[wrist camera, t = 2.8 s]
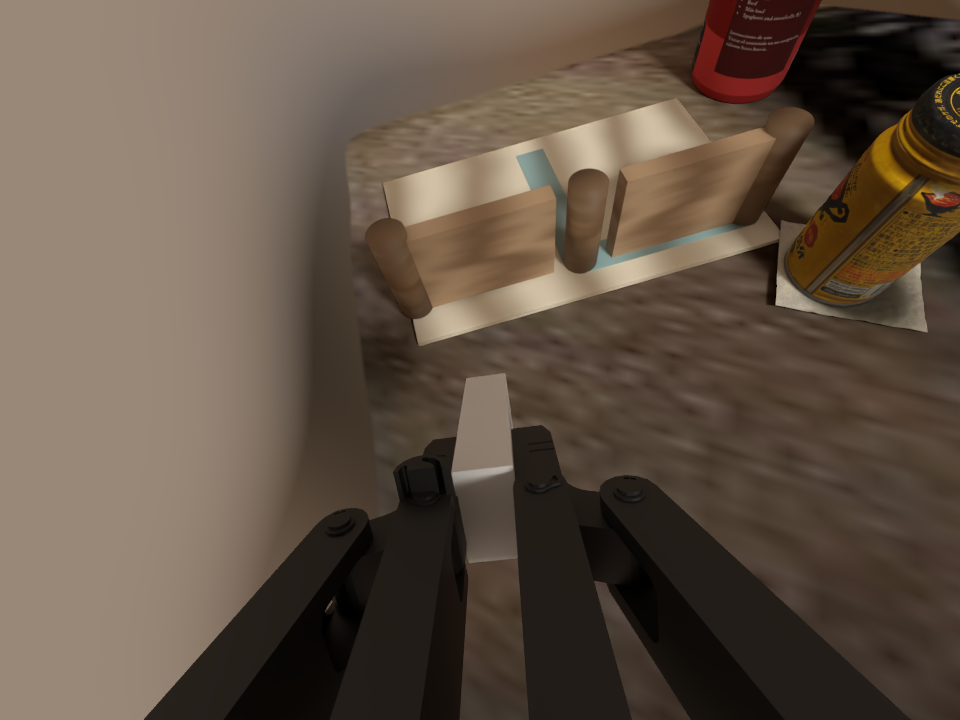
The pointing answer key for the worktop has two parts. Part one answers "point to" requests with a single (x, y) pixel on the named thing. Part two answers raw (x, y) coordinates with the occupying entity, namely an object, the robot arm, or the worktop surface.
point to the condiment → (881, 222)
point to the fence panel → (466, 250)
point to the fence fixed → (682, 191)
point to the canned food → (749, 46)
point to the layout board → (554, 165)
